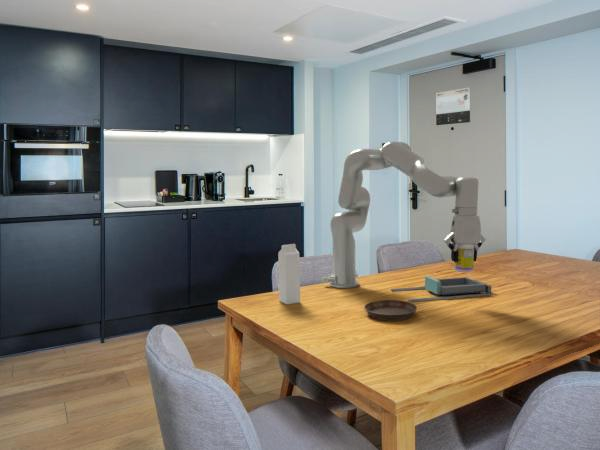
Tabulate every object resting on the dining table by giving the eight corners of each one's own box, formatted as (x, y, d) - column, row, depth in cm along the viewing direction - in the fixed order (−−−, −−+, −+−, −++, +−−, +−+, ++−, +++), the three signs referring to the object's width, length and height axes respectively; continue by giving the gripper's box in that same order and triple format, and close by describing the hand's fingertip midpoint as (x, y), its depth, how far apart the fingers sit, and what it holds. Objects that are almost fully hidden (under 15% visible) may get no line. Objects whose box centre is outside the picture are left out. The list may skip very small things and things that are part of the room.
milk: (300, 302, 190) (299, 244, 187) (286, 304, 187) (285, 246, 184) (292, 298, 195) (292, 242, 193) (278, 301, 192) (277, 244, 190)
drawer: (439, 297, 192) (439, 282, 191) (422, 289, 206) (422, 275, 205) (485, 294, 196) (485, 279, 196) (466, 286, 210) (466, 272, 209)
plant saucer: (382, 325, 160) (382, 316, 160) (354, 312, 177) (354, 303, 176) (427, 318, 167) (427, 309, 167) (397, 305, 184) (397, 297, 183)
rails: (409, 301, 187) (409, 294, 187) (390, 290, 205) (390, 283, 205) (495, 295, 195) (495, 287, 195) (470, 284, 212) (470, 278, 212)
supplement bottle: (451, 269, 185) (452, 234, 184) (468, 268, 186) (470, 234, 184) (458, 273, 179) (459, 237, 177) (476, 272, 179) (477, 237, 178)
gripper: (449, 213, 174) (447, 264, 177) (493, 212, 178) (491, 262, 180) (438, 211, 182) (436, 260, 184) (481, 210, 185) (479, 258, 187)
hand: (463, 260), depth 182 cm, fingers closed on supplement bottle, 6 cm apart
